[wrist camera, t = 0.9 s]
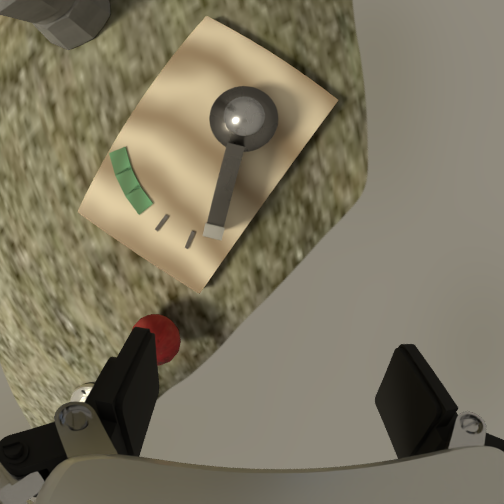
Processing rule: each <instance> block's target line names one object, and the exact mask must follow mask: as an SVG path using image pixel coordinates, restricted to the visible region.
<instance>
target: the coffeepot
mask: <svg viewBox="0 0 504 504" xmlns="http://www.w3.org/2000/svg"><path fill="white" fill-rule="evenodd" d="M0 15H4V16H8V17H12V18H16V19H20V20H24V21H27V22H31V23H33V25H34V26H35V27H36V28H37V29H38V30H39V31H40V32H41V33H42V34H43V35H44V36H45V37H46V38H47V39H48V40H49V41H50V42H51V43H53V44H55V45H58V46H60V47H62V48H65V49H67V50H70V49H73V48H75V47H78V46H80V45H83V44H84V43H86V42H88V41H89V40H91V39H93V38H94V37H95V36H96V35H97V34H98V33H99V31H100V30H101V29H102V28H103V26H104V25H105V23H106V21H107V19H108V18H109V16H110V15H111V14H110V2H109V0H0Z"/></svg>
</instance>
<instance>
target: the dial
mask: <svg viewBox="0 0 504 504" xmlns="http://www.w3.org/2000/svg"><path fill="white" fill-rule="evenodd" d="M209 122H210V127H211V130H212V133H213V134H214V136H215V138H216V139H217V140H218V141H219V142H220V143H221V144H222V145H223V146H225V147H226V149H225V153H224V157H223V161H222V164H221V168H220V172H219V176H218V180H217V184H216V188H215V192H214V196H213V200H212V204H211V208H210V212H209V216H208V220H207V223H205V227H204V231H203V236H204V237H208V238H212V239H216V240H221V241H222V237H223V233H224V229H225V227H224V224H225V221H226V217H227V213H228V209H229V205H230V201H231V197H232V193H233V190H234V186H235V182H236V178H237V175H238V171H239V167H240V163H241V160H242V156H243V152H250V151H254V150H257V149H259V148H261V147H262V146H264V145H265V144H266V143H268V142H269V141H270V140H271V138H272V137H273V136H274V134H275V132H276V129H277V126H278V111H277V108H276V106H275V104H274V102H273V100H272V99H271V98H270V97H269V96H268V95H267V94H266V93H265V92H263V91H261V90H259V89H257V88H254V87H250V86H238V87H234V88H231V89H229V90H227V91H225V92H223V93H222V94H221V95H220V96H219V97H218V98H217V99H216V100H215V102H214V103H213V105H212V108H211V110H210V116H209Z"/></svg>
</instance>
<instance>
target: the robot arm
mask: <svg viewBox="0 0 504 504" xmlns="http://www.w3.org/2000/svg"><path fill="white" fill-rule="evenodd" d="M158 394H159V378H158V367H157V355H156V340H155V334H154V333H151V332H150V329H148V328H142V327H134V328H133V330H132V332H131V333H130V335H129V337H128V339H127V340H126V342H125V344H124V346H123V348H122V349H121V351H120V353H119V355H118V357H117V358H116V357H110V358H109V359H108V361H107V363H106V364H105V366H104V368H103V370H102V371H101V373H100V375H99V377H98V378H97V380H96V382H95V384H91V383H89V384H83V385H81V386H79V387H77V388H76V389H75V391H74V392H73V394H72V396H71V402H69V403H66V404H63V405H62V406H61V407H59V408H58V410H57V411H56V413H55V416H54V420H55V422H52V423H49V424H46V425H43V426H40V427H36V428H33V429H30V430H26V431H23V432H19V433H16V434H12V435H9V436H7V437H4V438H3V439H2V440H1V441H0V504H504V440H502V439H500V438H498V437H495V436H493V435H490V434H488V433H486V424H485V421H484V420H483V419H482V418H481V417H480V416H479V415H477V414H475V413H473V412H462V413H460V414H459V415H458V414H457V413H456V411H457V410H458V407H457V405H456V404H455V402H454V401H453V399H452V398H451V396H450V395H449V393H448V392H447V390H446V389H445V387H444V386H443V384H442V383H441V381H440V380H439V378H438V377H437V376H436V374H435V373H434V371H433V370H432V368H431V367H430V366H429V364H428V363H427V362H426V360H425V359H424V357H423V356H422V354H421V353H420V352H419V350H418V349H417V347H416V346H415V345H414V344H401V345H400V346H399V347H398V348H396V349H395V351H394V353H393V356H392V358H391V361H390V364H389V366H388V368H387V371H386V373H385V376H384V378H383V380H382V383H381V385H380V387H379V390H378V392H377V394H376V397H375V404H376V406H377V409H378V411H379V413H380V416H381V418H382V420H383V422H384V425H385V428H386V430H387V432H388V435H389V437H390V440H391V442H392V445H393V447H394V450H395V452H396V454H397V457H398V459H395V460H389V461H382V462H375V463H368V464H360V465H351V466H340V467H329V468H310V469H246V468H228V467H216V466H206V465H196V464H187V463H179V462H172V461H165V460H159V459H152V458H144V457H139V455H140V452H141V449H142V445H143V442H144V439H145V435H146V432H147V429H148V426H149V422H150V419H151V416H152V413H153V410H154V406H155V403H156V400H157V397H158ZM31 497H36V499H35V501H34V502H32V501H31V500H29V499H30V498H31Z"/></svg>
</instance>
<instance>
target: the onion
mask: <svg viewBox="0 0 504 504" xmlns="http://www.w3.org/2000/svg"><path fill="white" fill-rule="evenodd" d="M134 327H142V328H148V329H150V332H151V333H154V334H155V340H156V355H157V365H162V364H165V363H167V362H170V361H171V360H172V359H173V358H174V357H175V355H176V354H177V353H178V351H179V347H180V342H181V340H180V335H179V330H178V328H177V327H176V326H175V324H174V323H173V322H172V321H171V320H170V319H168V318H167V317H165V316H162V315H159V314H151V315H147V316H145V317H143V318H141V319H140V320H139V321H138V322H137V323H136V324H135V325H134V326H133V328H134ZM132 330H133V329H132Z"/></svg>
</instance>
